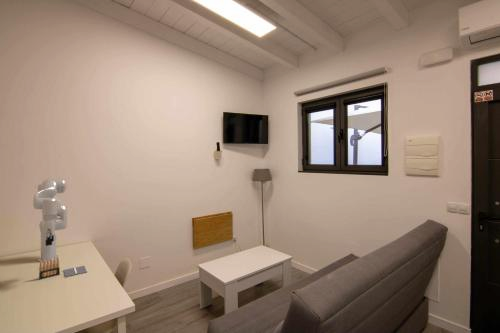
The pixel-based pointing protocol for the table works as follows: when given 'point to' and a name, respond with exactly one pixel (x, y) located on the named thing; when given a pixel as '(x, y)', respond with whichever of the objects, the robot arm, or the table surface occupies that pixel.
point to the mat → (75, 271)
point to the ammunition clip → (49, 269)
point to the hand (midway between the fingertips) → (49, 243)
